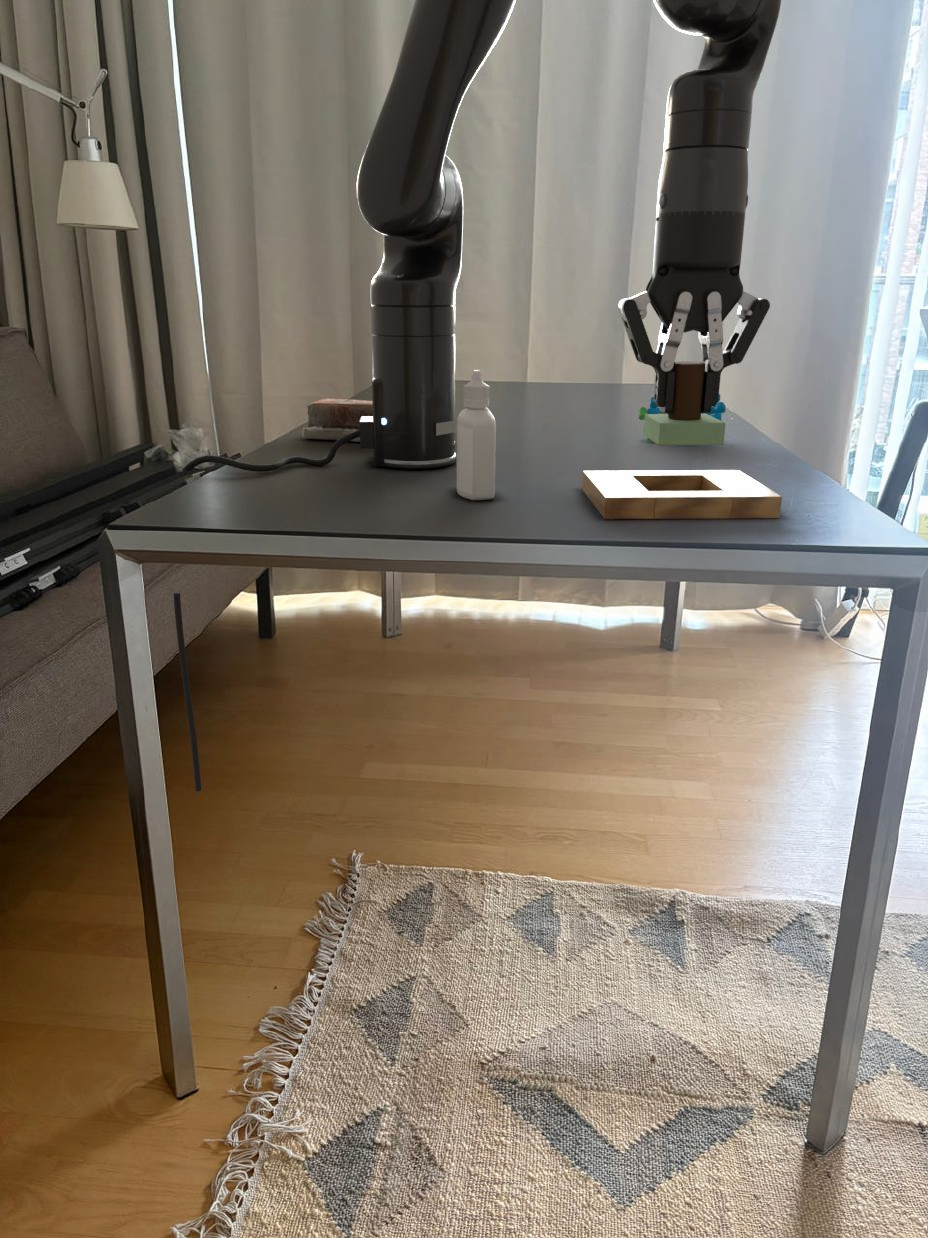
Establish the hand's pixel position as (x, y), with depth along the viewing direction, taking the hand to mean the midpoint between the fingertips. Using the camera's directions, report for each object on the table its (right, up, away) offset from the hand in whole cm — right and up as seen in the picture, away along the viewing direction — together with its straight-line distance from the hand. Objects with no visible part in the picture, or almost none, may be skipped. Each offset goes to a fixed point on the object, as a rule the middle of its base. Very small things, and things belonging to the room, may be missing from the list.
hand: (684, 411), depth 87 cm
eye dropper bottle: (-19, -7, +6) cm, 22 cm away
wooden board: (0, -8, +3) cm, 9 cm away
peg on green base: (0, -3, +1) cm, 3 cm away
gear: (+8, +4, +37) cm, 38 cm away
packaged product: (-32, +5, +38) cm, 50 cm away
